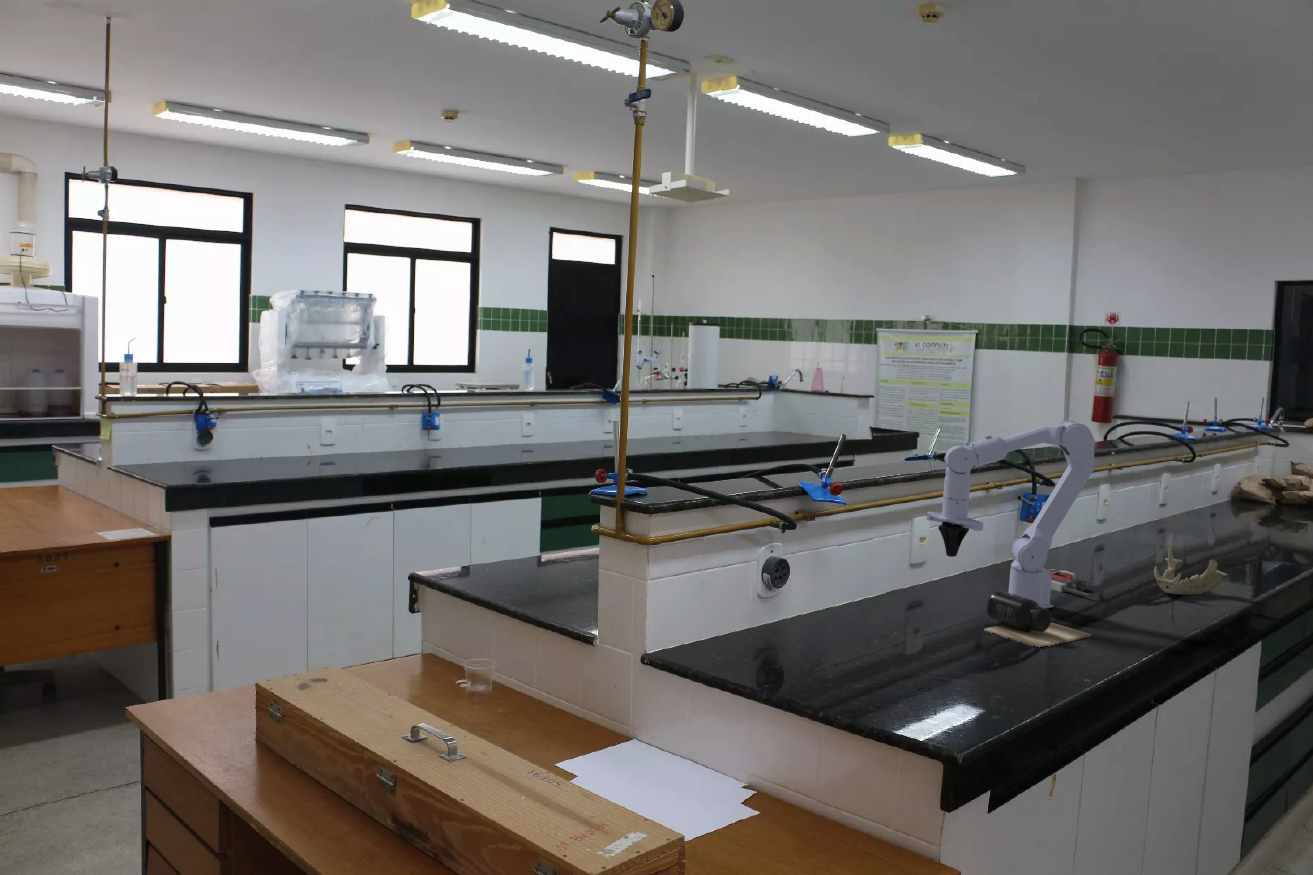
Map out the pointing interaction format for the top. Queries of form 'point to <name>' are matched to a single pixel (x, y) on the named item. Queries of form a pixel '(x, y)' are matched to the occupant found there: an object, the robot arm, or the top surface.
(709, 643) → the top surface
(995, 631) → the tan paper sheet
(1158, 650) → the top surface
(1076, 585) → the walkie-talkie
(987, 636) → the top surface
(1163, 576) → the mandible
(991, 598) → the supplement bottle
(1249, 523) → the top surface
